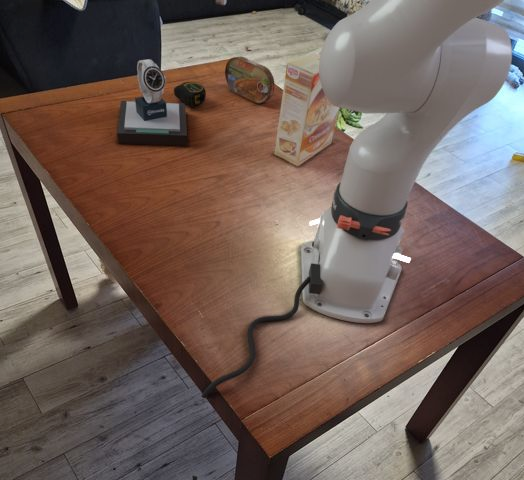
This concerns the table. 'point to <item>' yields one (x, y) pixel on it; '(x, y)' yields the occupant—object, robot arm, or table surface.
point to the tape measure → (190, 93)
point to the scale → (152, 126)
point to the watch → (150, 91)
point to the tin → (249, 79)
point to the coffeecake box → (304, 112)
